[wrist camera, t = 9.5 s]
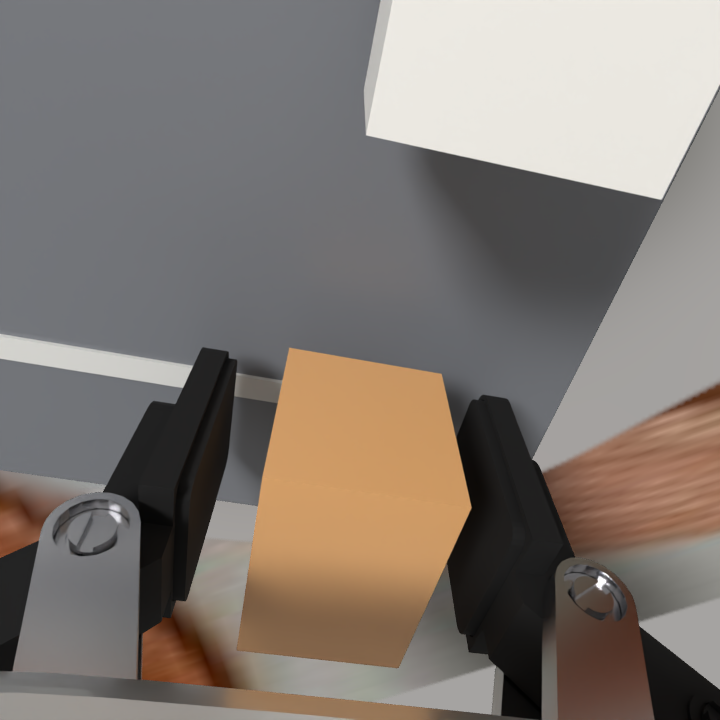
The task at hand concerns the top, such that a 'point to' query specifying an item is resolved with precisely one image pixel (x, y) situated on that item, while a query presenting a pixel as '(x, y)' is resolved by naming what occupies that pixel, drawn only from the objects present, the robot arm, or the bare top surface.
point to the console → (261, 231)
